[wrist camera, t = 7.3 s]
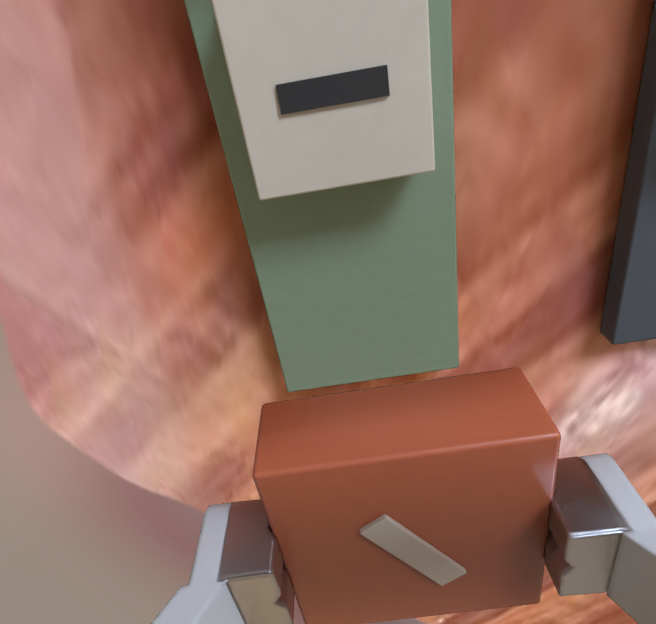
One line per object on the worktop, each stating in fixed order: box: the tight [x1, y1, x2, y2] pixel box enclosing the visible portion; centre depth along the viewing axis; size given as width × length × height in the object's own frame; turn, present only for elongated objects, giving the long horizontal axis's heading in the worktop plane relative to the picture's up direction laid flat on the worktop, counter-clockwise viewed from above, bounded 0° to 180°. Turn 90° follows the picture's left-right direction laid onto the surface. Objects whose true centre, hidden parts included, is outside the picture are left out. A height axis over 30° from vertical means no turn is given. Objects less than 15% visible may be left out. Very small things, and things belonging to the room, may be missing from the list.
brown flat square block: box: [253, 368, 561, 624], centre depth 9 cm, size 5×5×2 cm
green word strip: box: [184, 0, 459, 392], centre depth 13 cm, size 22×7×3 cm, turn 9°
